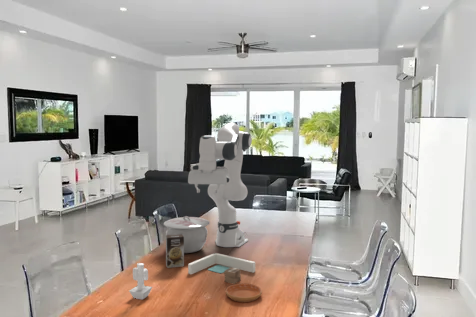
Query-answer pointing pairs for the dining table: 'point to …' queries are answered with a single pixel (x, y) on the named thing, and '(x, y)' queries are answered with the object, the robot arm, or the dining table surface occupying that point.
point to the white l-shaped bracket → (221, 263)
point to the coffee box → (174, 250)
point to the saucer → (243, 292)
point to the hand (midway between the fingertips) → (207, 192)
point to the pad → (218, 268)
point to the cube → (232, 275)
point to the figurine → (140, 282)
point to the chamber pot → (189, 231)
